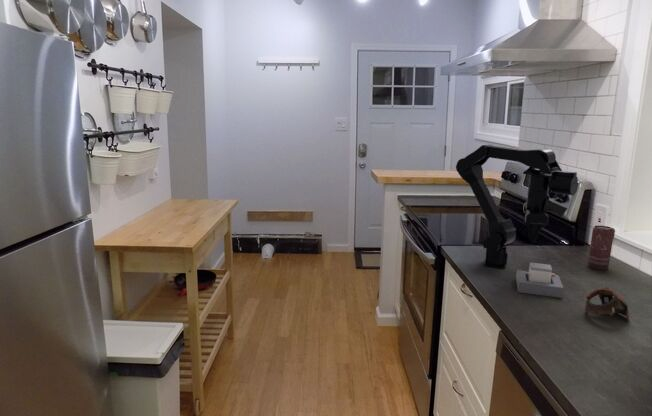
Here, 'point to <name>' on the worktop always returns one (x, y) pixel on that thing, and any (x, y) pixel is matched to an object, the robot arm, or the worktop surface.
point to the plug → (540, 273)
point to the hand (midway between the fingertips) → (531, 238)
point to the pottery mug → (606, 303)
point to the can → (601, 247)
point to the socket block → (539, 285)
